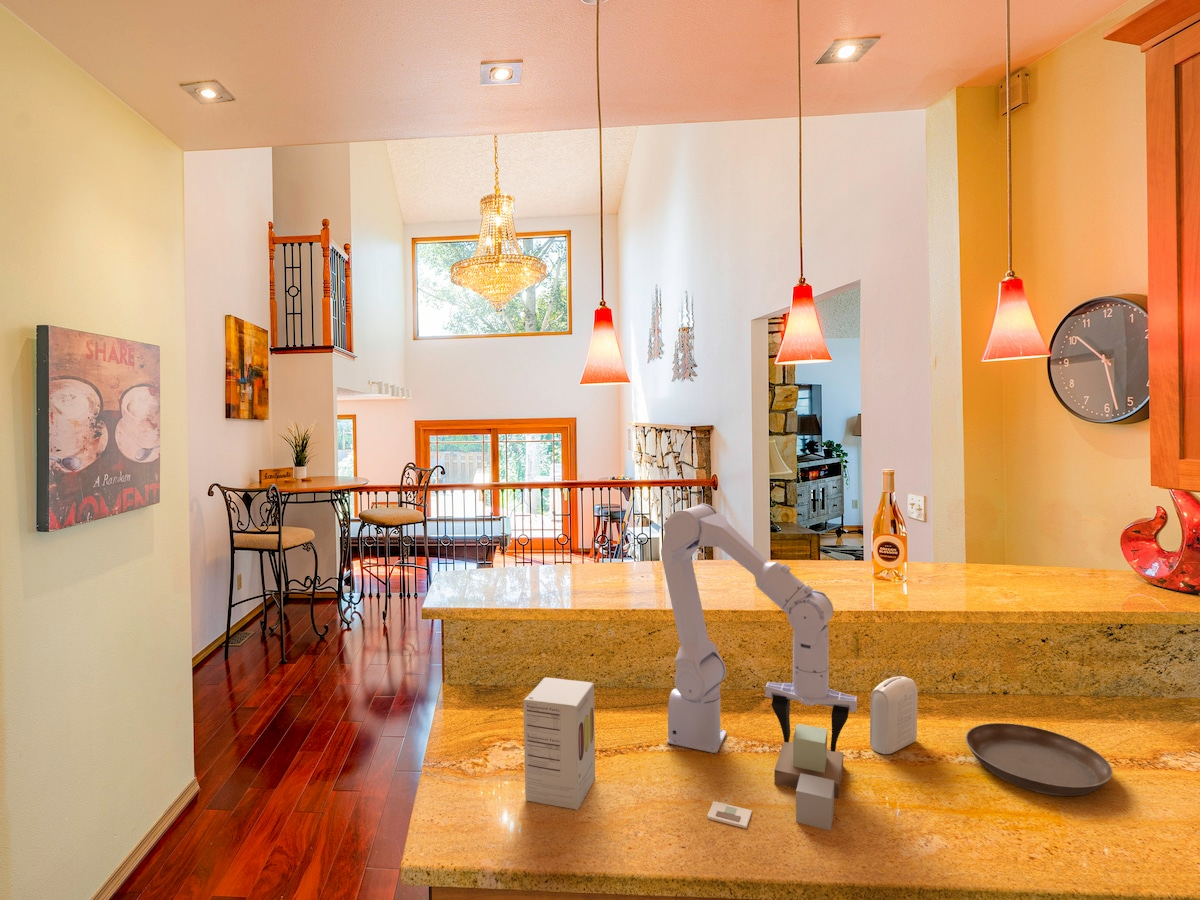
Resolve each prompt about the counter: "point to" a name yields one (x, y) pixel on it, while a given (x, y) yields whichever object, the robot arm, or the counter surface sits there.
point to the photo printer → (893, 715)
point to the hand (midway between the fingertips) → (809, 744)
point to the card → (729, 814)
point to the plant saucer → (1038, 759)
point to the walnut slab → (790, 774)
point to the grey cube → (815, 801)
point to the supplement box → (559, 742)
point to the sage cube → (810, 748)
